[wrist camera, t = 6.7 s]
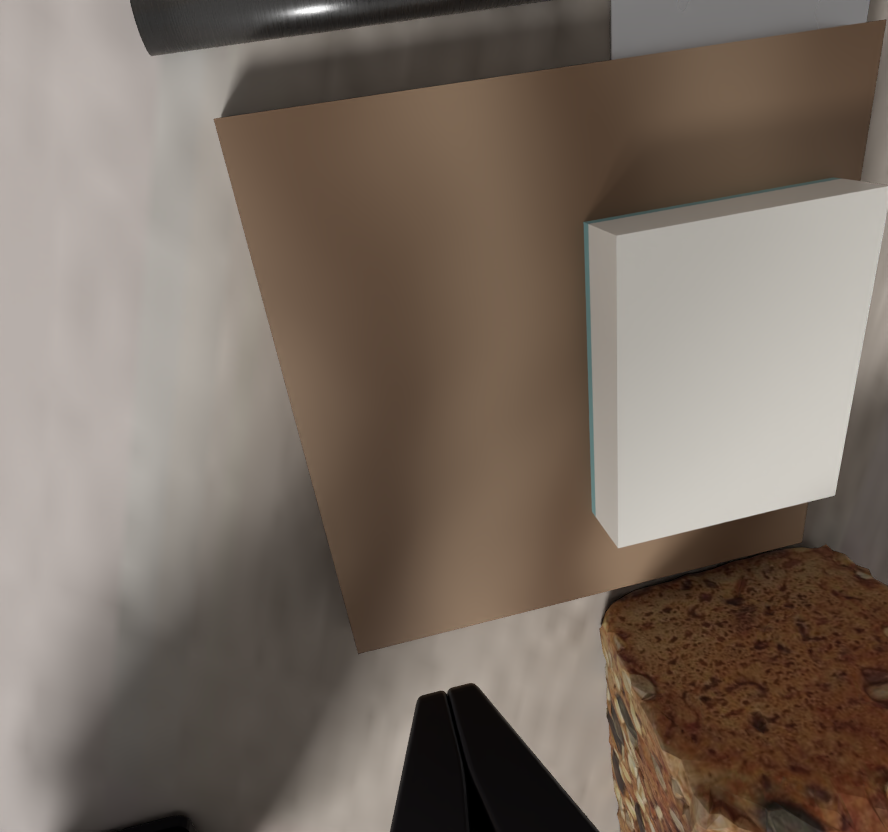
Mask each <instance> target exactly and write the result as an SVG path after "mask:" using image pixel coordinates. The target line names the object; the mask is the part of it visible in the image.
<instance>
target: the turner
mask: <svg viewBox="0 0 888 832" xmlns="http://www.w3.org/2000/svg"><path fill="white" fill-rule="evenodd" d="M543 1H550V0H130V3H131V7H132V11H133V15H134V18H135V21H136V25H137V28H138V30H139V33H140V36H141V38H142V41H143V43H144V45H145V47H146V49H147V51H148V53H149V54H150V55H151V56H155V55H162V54H170V53H177V52H184V51H191V50H198V49H206V48H213V47H220V46H227V45H234V44H241V43H249V42H256V41H263V40H270V39H277V38H285V37H292V36H299V35H306V34H313V33H320V32H328V31H335V30H342V29H349V28H356V27H364V26H371V25H378V24H385V23H392V22H399V21H407V20H414V19H421V18H428V17H435V16H443V15H450V14H457V13H464V12H471V11H478V10H486V9H493V8H500V7H507V6H514V5H522V4H529V3H536V2H543ZM869 3H870V0H610V60H614V59H621V58H628V57H635V56H642V55H648V54H655V53H662V52H669V51H675V50H682V49H689V48H696V47H702V46H709V45H716V44H723V43H729V42H736V41H743V40H750V39H757V38H763V37H770V36H777V35H784V34H790V33H797V32H804V31H811V30H817V29H824V28H831V27H838V26H844V25H851V24H858V23H865V22H867V16H868V10H869Z"/></svg>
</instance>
